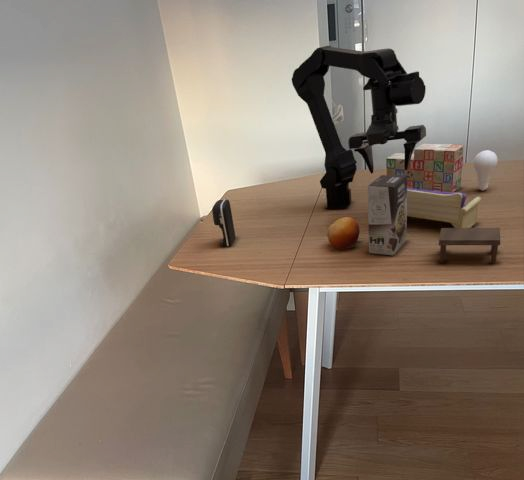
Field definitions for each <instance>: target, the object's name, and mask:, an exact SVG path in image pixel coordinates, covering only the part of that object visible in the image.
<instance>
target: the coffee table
mask: <svg viewBox="0 0 524 480" xmlns="http://www.w3.org/2000/svg"><path fill="white" fill-rule="evenodd" d="M438 238H439V239H438V246H439V247H440V248H439V263H440V264H444V263H445V262H446V261H445V258H446V253H447V246H490V254H491V259H490V264H492V265H494V264H497V258H498V257H497V256H498V249H499V246H501V227H471V228H454V227H441V228H440V233H439V237H438Z"/></svg>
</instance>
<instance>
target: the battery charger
mask: <svg viewBox="0 0 524 480" xmlns="http://www.w3.org/2000/svg"><path fill="white" fill-rule="evenodd" d="M230 202H231V201H230V200H229V199H226V198H224V199H219V200H217V201H216V202H215V203H214V204H213V205H212V209H211V213H212V220H213V225H215V226H218V227H219V229H221V233H222V237H223V238H222V240H221V242H220V246H221V247H231V246H232V245H233V243H234V241H235V239H236V237H237V236H236V231H235V225H234V220H233V212H232V207H231V203H230Z"/></svg>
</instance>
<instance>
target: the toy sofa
mask: <svg viewBox="0 0 524 480" xmlns="http://www.w3.org/2000/svg"><path fill="white" fill-rule="evenodd" d="M466 198H467V194H465V193H463V192H457V191H455V192H440V191H427V190H418V189H412V188H407V217H410V218H418V219H423V220H424V219H425V220H431V221H437V222H445V223H449V224H451V225H452V226H453V228H473V226H475V225H476V224H477V220H478V210H479V209H478V208H479V204H480V203H481V201H482V198H481V196H476V197H474V198H473V199H472V200H471V201H469V202H468V203H466V204H465V202H466V200H467V199H466Z"/></svg>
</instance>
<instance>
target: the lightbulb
mask: <svg viewBox="0 0 524 480" xmlns="http://www.w3.org/2000/svg"><path fill="white" fill-rule="evenodd" d="M498 161H499V160H498V156H497V154H496V153H495V152H494V151H492V150H487V149H485V150H482V151H480V152H478V153H477V154H476V156H475V157H474V160H473V168H474V170H475V172H476V175H477V182H478V186H477V187H478V188H477V189H479V190H480V191H485V190H487V189H488V188H489V183H490V180H491V177H492V173H493V171H494V170H495V168H496V167H497V165H498Z"/></svg>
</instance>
